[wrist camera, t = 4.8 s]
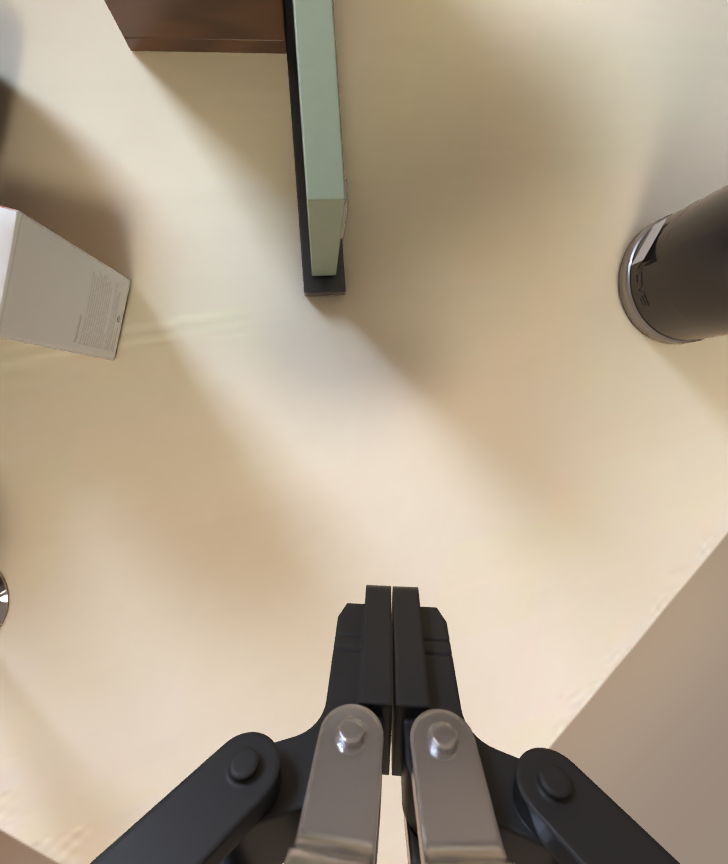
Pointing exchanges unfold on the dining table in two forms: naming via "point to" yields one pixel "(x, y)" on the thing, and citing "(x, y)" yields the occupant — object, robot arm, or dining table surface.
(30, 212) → the dining table surface
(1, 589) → the wine glass
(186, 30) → the box
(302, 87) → the door
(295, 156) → the track
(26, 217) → the small box
